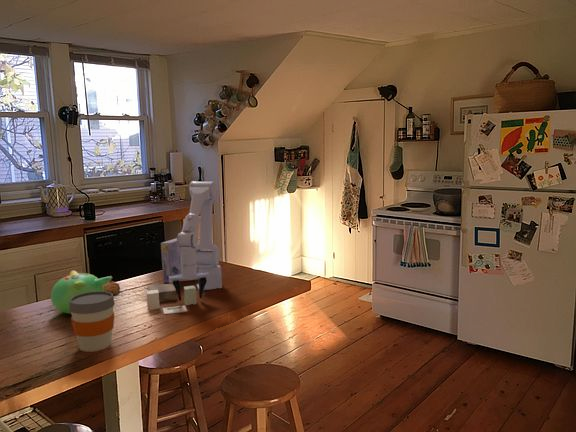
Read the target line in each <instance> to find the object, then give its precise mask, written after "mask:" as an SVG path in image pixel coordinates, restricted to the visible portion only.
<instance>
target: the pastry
mask: <svg viewBox="0 0 576 432" xmlns="http://www.w3.org/2000/svg"><path fill="white" fill-rule="evenodd" d="M103 287H104V291H105V292H110V293H112V294H113V295H118V294H119V293H120V290H121V286H120V284H119V283H118V282H116V281H113V280H110V281H109V282H108V283H106V284H105V285H104V286H103Z"/></svg>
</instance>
